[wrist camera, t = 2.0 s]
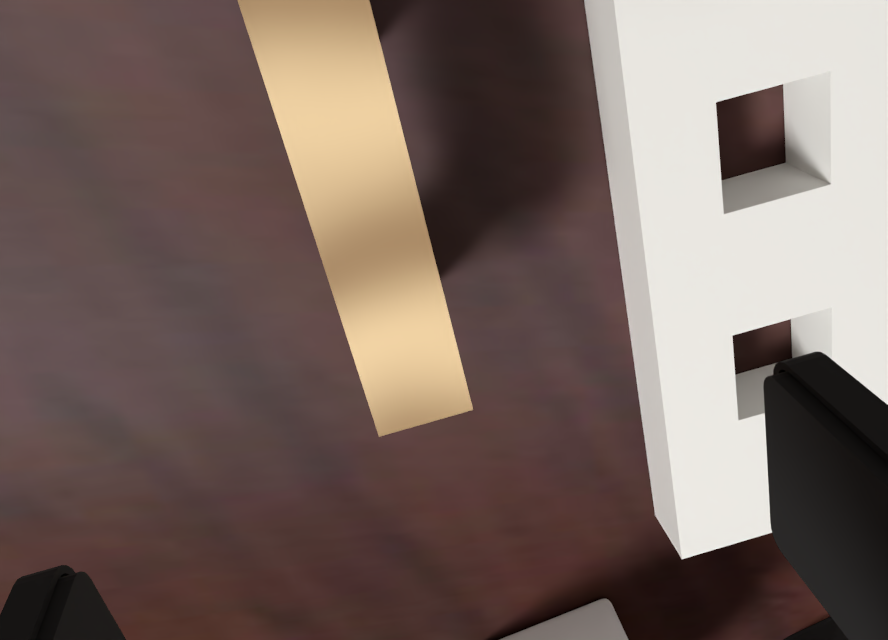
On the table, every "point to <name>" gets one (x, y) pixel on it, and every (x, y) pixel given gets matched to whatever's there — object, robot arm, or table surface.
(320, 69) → the tan wooden u-shaped block
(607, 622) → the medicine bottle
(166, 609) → the table surface
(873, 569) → the robot arm
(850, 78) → the white slotted board
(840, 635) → the padlock
